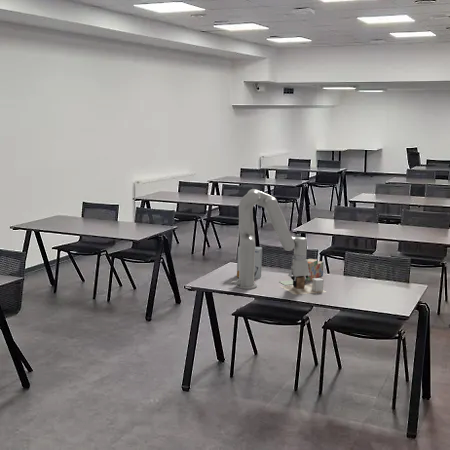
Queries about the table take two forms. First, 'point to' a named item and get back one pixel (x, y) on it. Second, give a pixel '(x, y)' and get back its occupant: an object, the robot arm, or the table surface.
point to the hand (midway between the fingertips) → (299, 286)
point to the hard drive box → (257, 262)
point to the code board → (305, 290)
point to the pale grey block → (317, 284)
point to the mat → (287, 282)
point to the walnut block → (300, 282)
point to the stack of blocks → (314, 269)
